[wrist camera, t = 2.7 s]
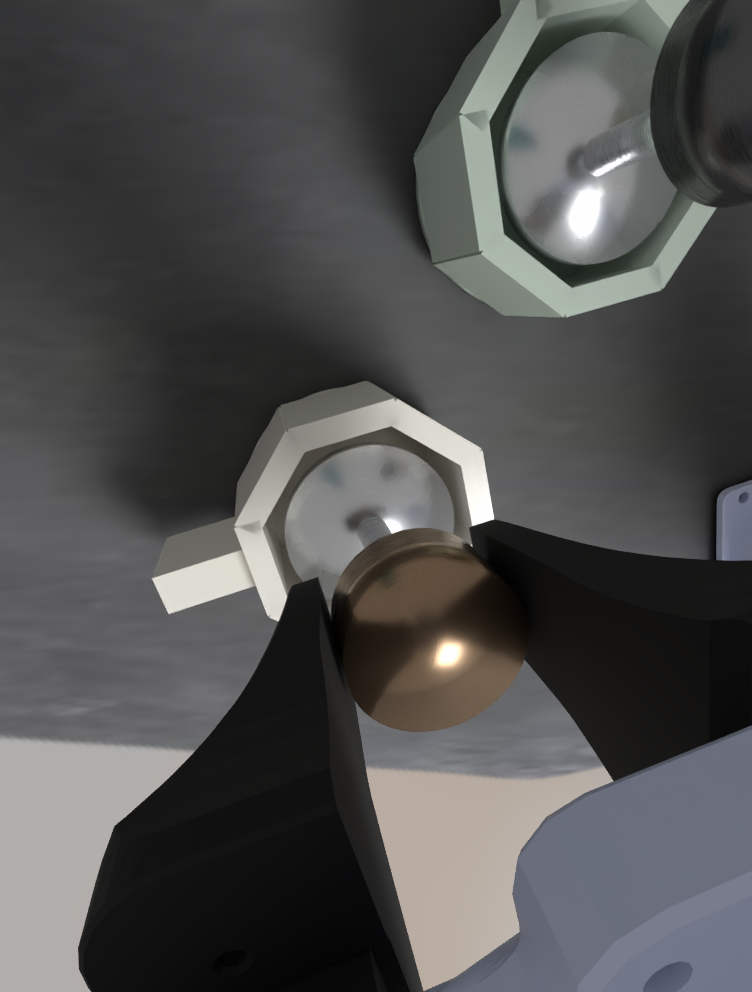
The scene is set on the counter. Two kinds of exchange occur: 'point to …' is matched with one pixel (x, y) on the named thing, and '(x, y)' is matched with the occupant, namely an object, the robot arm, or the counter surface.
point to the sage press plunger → (629, 134)
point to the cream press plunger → (404, 588)
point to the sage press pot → (473, 170)
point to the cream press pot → (275, 472)
